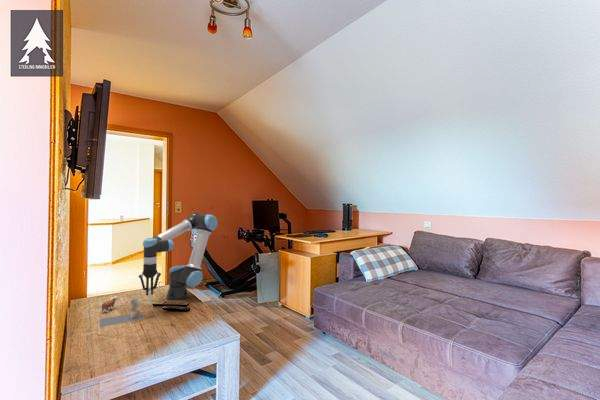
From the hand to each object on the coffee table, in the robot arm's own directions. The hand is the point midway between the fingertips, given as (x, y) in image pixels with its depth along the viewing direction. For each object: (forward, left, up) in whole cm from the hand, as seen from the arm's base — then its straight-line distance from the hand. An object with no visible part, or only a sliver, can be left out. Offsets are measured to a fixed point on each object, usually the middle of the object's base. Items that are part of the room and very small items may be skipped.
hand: (149, 300), depth 190 cm
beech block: (+8, 0, -9) cm, 12 cm away
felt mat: (+15, 0, -10) cm, 18 cm away
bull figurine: (+21, -20, -10) cm, 31 cm away
